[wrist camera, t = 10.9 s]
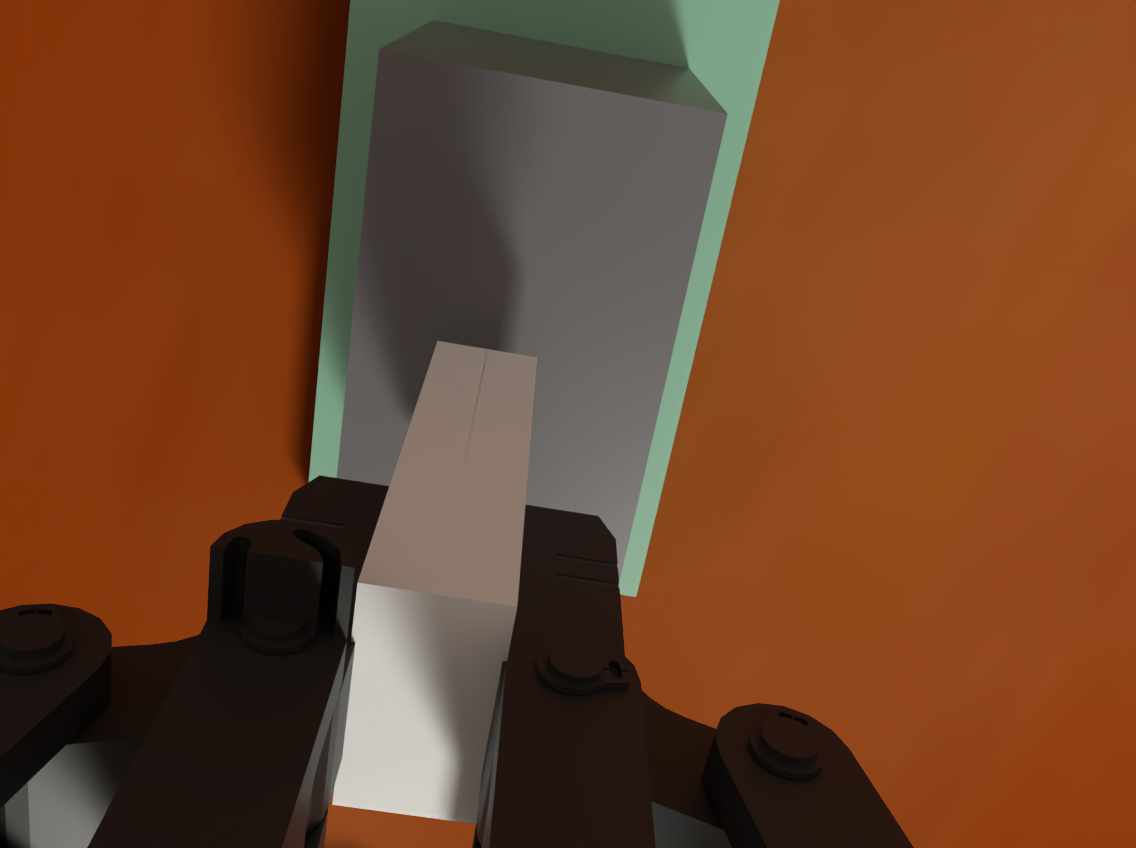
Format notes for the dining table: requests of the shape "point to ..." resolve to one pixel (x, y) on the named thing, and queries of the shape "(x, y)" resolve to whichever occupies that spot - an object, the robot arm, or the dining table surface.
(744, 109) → the header board
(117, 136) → the dining table surface
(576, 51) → the plug housing
